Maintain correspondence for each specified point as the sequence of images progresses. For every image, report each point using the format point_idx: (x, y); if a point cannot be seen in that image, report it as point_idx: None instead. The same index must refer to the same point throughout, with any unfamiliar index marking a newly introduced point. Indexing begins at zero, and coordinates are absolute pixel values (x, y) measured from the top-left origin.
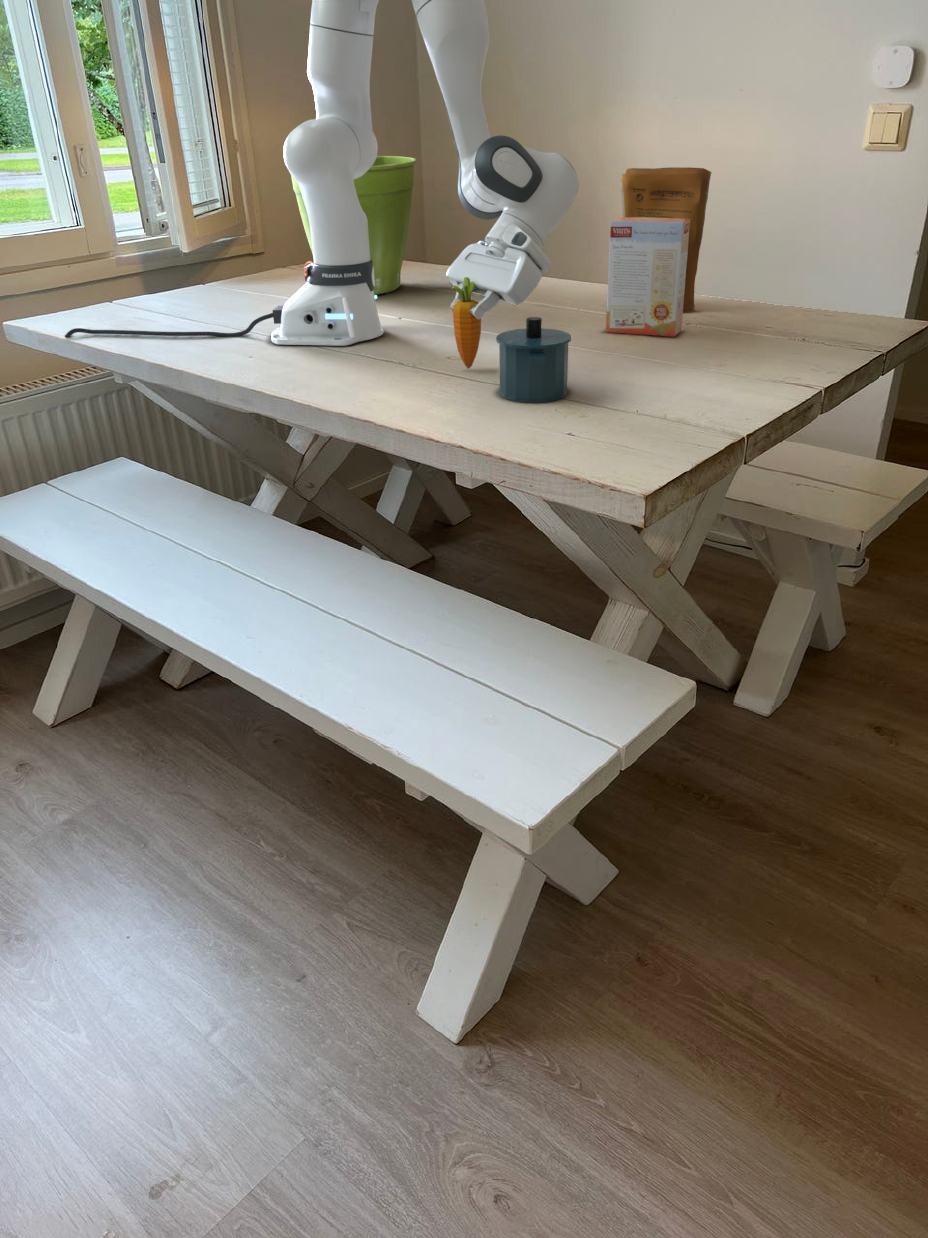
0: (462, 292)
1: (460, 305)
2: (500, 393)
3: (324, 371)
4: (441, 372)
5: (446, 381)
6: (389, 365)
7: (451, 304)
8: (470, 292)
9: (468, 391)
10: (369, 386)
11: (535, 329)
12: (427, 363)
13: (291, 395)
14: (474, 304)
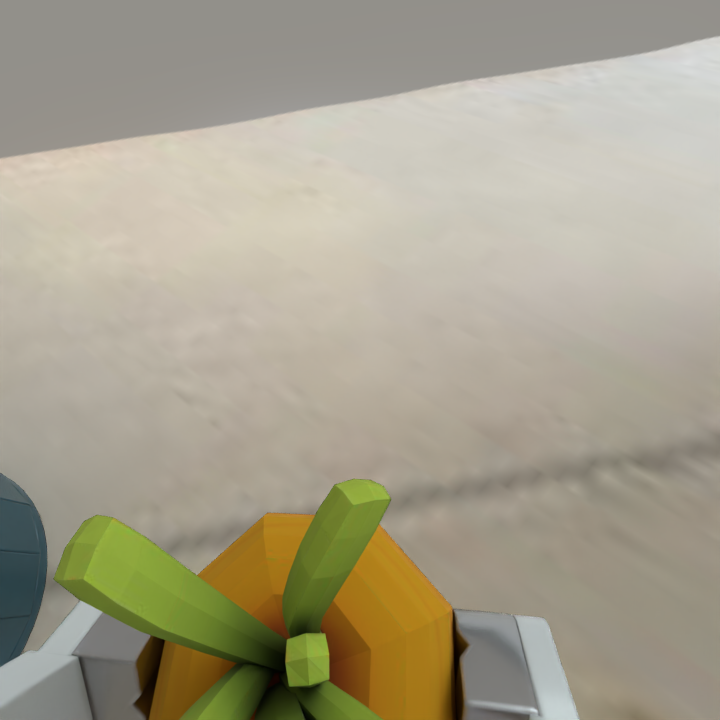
0: (287, 617)
1: (266, 531)
2: (9, 479)
3: (692, 219)
4: (423, 511)
5: (302, 444)
6: (657, 412)
7: (535, 624)
8: (186, 718)
9: (145, 426)
10: (436, 237)
11: None
12: (600, 559)
13: (493, 88)
14: (134, 652)
